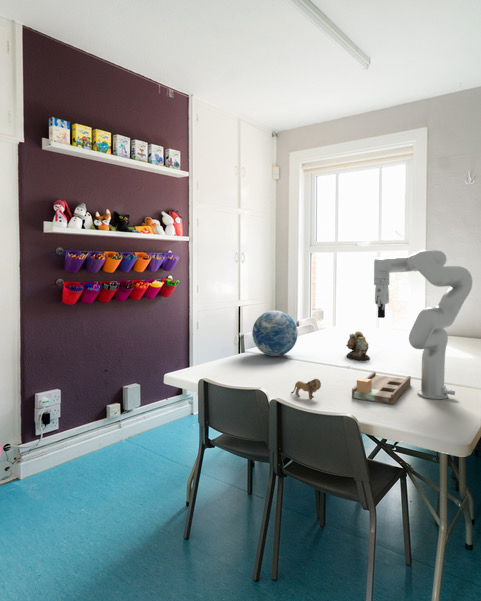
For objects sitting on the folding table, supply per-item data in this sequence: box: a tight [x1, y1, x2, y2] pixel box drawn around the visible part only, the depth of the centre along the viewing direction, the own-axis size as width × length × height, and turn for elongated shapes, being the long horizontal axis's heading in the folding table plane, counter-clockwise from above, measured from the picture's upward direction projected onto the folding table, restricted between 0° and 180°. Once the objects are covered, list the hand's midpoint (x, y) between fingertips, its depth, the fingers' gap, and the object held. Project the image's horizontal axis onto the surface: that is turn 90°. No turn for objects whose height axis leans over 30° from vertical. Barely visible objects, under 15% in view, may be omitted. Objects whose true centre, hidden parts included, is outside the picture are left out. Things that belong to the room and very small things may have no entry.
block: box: [356, 377, 372, 393], centre depth 197 cm, size 5×5×5 cm
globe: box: [251, 310, 299, 357], centre depth 286 cm, size 30×30×30 cm
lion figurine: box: [290, 378, 322, 400], centre depth 199 cm, size 15×5×9 cm, turn 60°
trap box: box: [351, 371, 411, 406], centre depth 205 cm, size 18×34×4 cm, turn 147°
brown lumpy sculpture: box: [345, 331, 371, 361], centre depth 276 cm, size 18×12×17 cm, turn 30°
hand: (381, 317), depth 225 cm, fingers closed
